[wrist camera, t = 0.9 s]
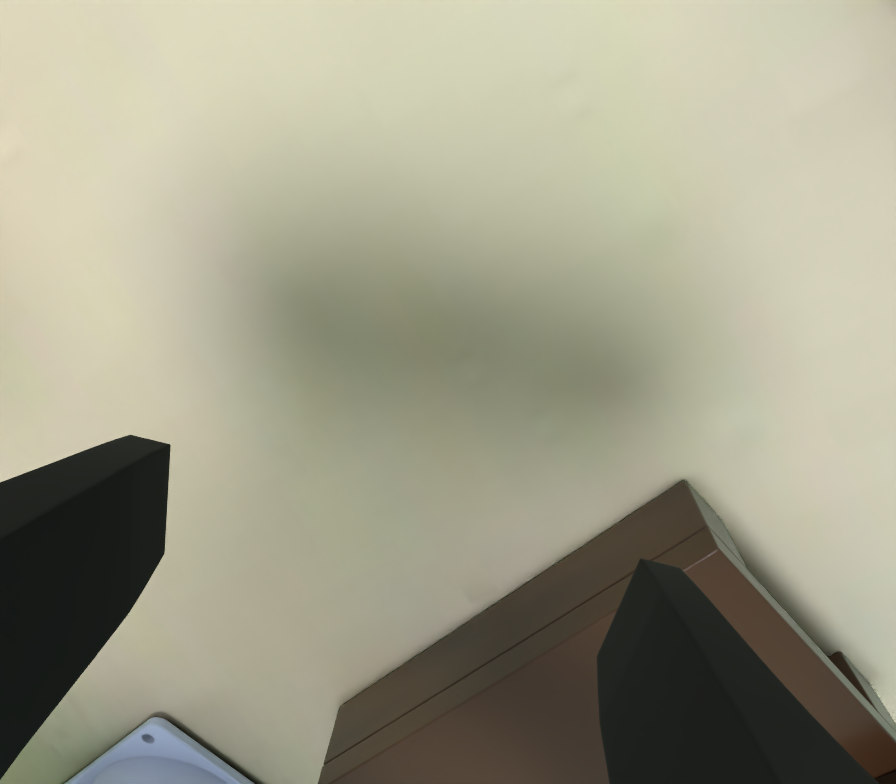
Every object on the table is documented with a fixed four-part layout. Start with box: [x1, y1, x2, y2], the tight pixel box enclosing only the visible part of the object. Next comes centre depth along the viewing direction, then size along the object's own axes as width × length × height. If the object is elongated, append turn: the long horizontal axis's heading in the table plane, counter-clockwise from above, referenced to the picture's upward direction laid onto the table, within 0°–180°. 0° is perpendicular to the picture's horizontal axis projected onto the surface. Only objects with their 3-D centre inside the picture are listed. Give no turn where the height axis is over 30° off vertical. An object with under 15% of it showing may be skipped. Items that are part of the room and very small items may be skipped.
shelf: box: [318, 480, 896, 784], centre depth 21 cm, size 16×11×5 cm
